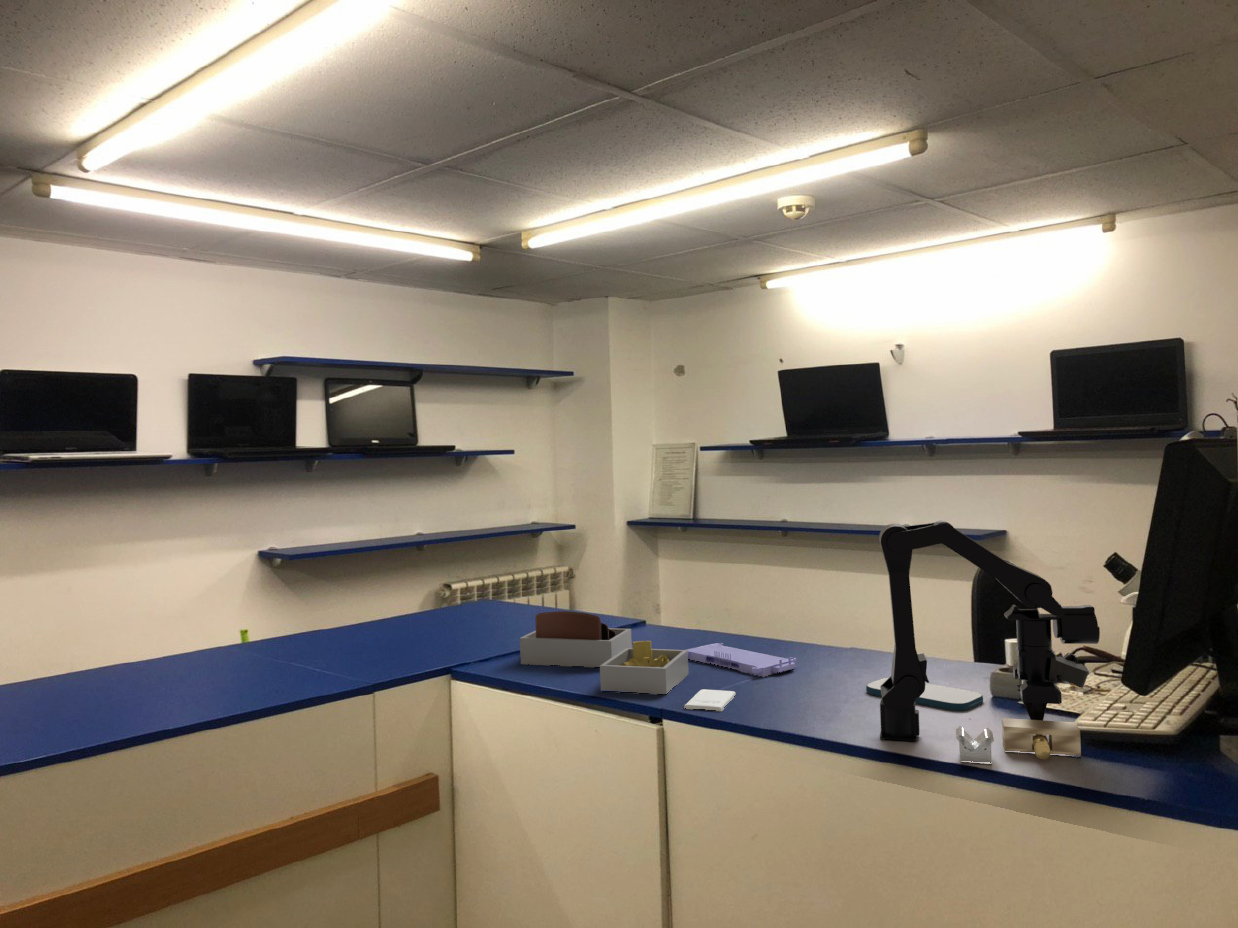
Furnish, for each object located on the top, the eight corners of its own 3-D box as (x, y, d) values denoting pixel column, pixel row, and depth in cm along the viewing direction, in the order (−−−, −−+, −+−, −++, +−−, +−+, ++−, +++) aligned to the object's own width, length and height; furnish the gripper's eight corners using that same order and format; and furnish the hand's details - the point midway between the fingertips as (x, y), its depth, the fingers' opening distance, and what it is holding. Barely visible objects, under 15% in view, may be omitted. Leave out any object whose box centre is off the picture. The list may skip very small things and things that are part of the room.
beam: (1004, 752, 157) (1003, 726, 157) (1002, 743, 161) (1001, 718, 161) (1080, 757, 153) (1080, 731, 153) (1076, 748, 157) (1075, 722, 157)
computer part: (762, 681, 212) (804, 670, 222) (762, 664, 212) (803, 653, 221) (678, 661, 236) (718, 652, 245) (677, 645, 236) (718, 636, 245)
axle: (1035, 759, 151) (1034, 745, 151) (1031, 737, 162) (1029, 724, 162) (1051, 759, 150) (1049, 745, 150) (1046, 737, 161) (1044, 724, 161)
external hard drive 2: (860, 695, 198) (860, 686, 198) (888, 684, 206) (888, 676, 206) (962, 715, 180) (962, 705, 180) (988, 703, 188) (988, 693, 188)
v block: (994, 765, 151) (993, 736, 151) (957, 762, 153) (956, 734, 153) (992, 755, 156) (992, 727, 155) (956, 753, 158) (955, 725, 157)
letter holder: (601, 667, 232) (599, 613, 232) (535, 662, 240) (533, 610, 240) (617, 659, 241) (615, 607, 241) (553, 654, 249) (551, 604, 249)
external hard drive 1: (735, 698, 200) (721, 714, 188) (700, 696, 203) (684, 711, 191) (735, 691, 200) (721, 706, 188) (700, 689, 203) (684, 704, 191)
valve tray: (600, 691, 208) (599, 665, 208) (627, 671, 226) (626, 648, 226) (666, 695, 202) (665, 668, 202) (688, 674, 220) (687, 650, 220)
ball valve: (617, 686, 215) (641, 689, 207) (614, 643, 216) (638, 644, 208) (660, 681, 222) (684, 683, 214) (657, 639, 223) (681, 639, 215)
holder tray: (520, 664, 238) (519, 638, 238) (545, 650, 254) (544, 626, 253) (612, 668, 230) (611, 641, 230) (632, 654, 245) (631, 629, 245)
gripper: (1092, 657, 150) (1096, 749, 151) (1075, 633, 168) (1078, 715, 168) (1020, 655, 154) (1024, 744, 154) (1011, 632, 172) (1014, 712, 172)
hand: (1037, 728), depth 162 cm, fingers closed
